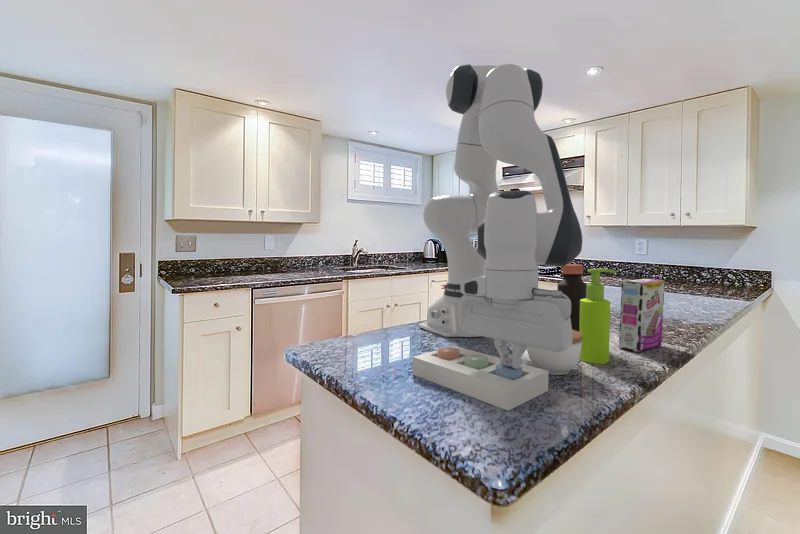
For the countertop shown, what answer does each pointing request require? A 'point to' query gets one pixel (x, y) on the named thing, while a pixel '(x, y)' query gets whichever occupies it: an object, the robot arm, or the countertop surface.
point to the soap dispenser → (595, 321)
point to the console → (482, 379)
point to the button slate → (508, 372)
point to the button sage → (476, 361)
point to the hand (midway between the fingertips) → (510, 366)
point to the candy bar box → (641, 314)
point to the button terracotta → (448, 353)
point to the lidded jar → (557, 356)
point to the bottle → (573, 290)
